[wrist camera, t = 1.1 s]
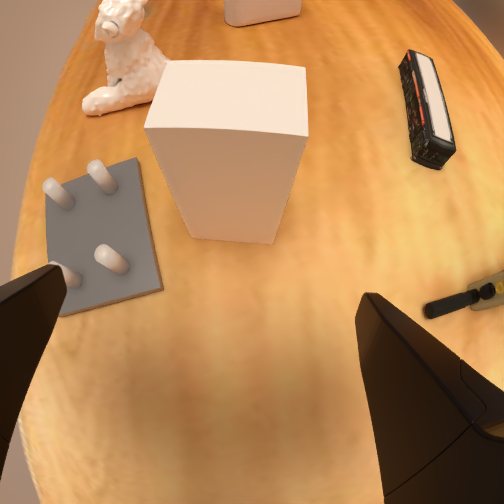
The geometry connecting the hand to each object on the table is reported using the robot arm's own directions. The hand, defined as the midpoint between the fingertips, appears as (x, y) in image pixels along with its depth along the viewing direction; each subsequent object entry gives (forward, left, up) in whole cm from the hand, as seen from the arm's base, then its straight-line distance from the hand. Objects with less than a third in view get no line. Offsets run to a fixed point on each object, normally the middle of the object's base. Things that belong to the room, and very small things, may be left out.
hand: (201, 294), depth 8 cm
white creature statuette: (+24, +6, -14) cm, 28 cm away
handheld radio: (-2, -28, -14) cm, 31 cm away
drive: (+8, -2, -13) cm, 16 cm away
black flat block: (+19, -25, -14) cm, 35 cm away
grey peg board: (+8, +9, -13) cm, 18 cm away
